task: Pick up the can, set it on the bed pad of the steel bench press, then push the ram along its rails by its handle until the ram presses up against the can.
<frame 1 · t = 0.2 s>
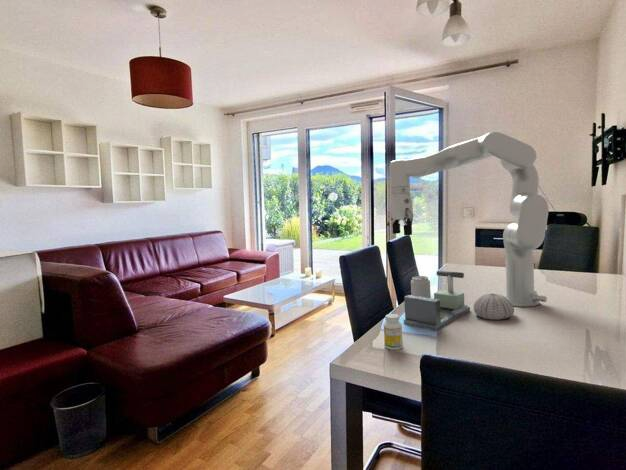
hand: (402, 234, 147), 30 cm above the table, tool pointing down, fingers open, 9 cm apart
sea urchin shell: (493, 316, 132), on the table
can: (421, 306, 149), on the table
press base: (438, 316, 134), on the table
supplement bottle: (393, 347, 111), on the table
ram: (448, 289, 140), point 9 cm above the table, slide at 0.0 cm
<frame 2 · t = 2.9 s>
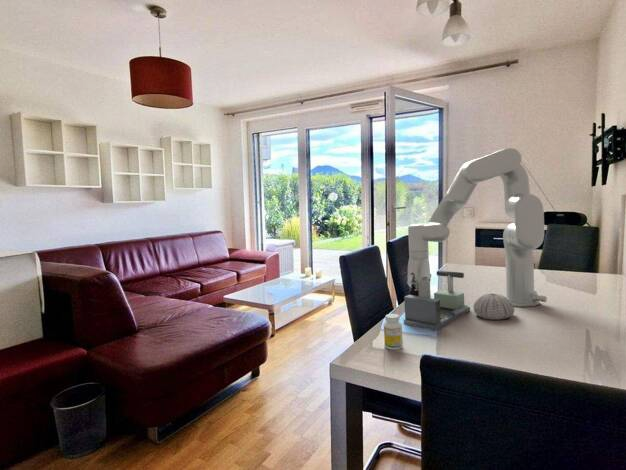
hand: (420, 297, 149), 4 cm above the table, tool pointing down, fingers closed on can, 7 cm apart
can: (421, 306, 149), on the table, touching gripper
everything else where it was.
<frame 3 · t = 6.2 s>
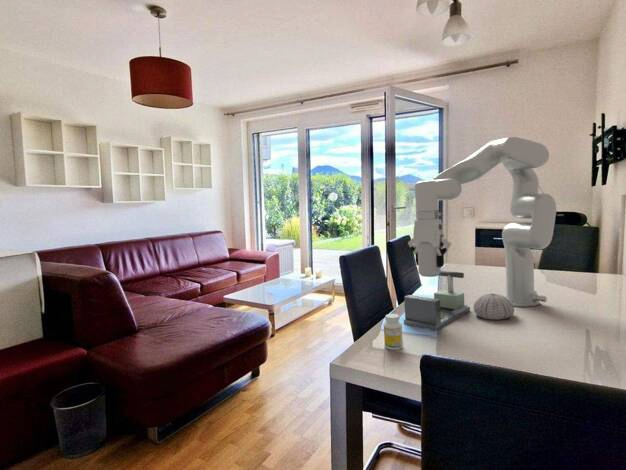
hand: (429, 265, 131), 20 cm above the table, tool pointing down, fingers closed on can, 7 cm apart
can: (429, 275, 131), point 16 cm above the table, touching gripper
everything else where it was.
when the fingers open (7 cm above the table, at t = 9.4 s): can drops 1 cm, resting on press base.
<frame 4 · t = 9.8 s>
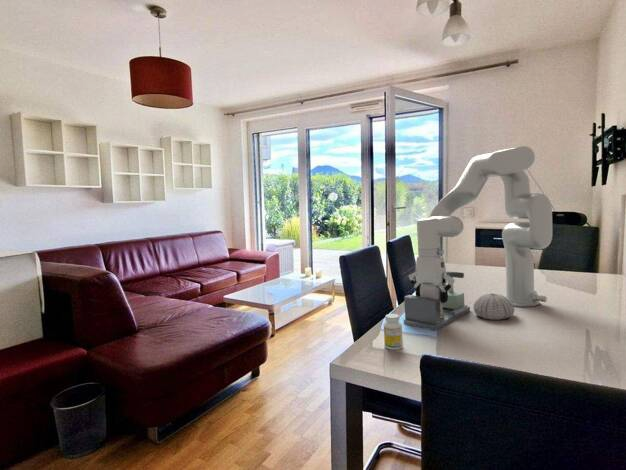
hand: (431, 300, 131), 7 cm above the table, tool pointing down, fingers open, 9 cm apart
can: (432, 315, 131), point 2 cm above the table, touching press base
everything else where it was.
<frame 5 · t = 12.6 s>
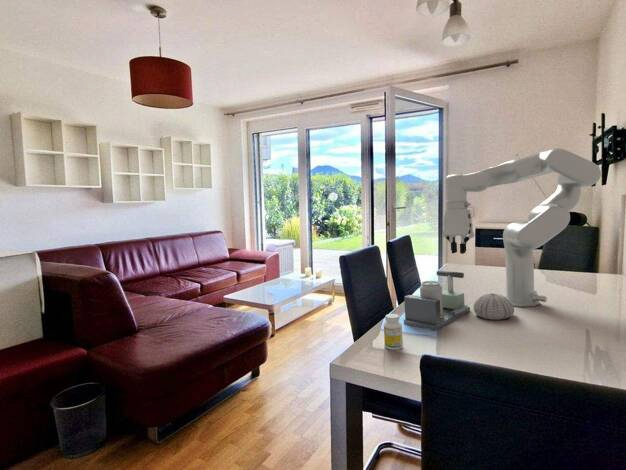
hand: (458, 252, 145), 21 cm above the table, tool pointing down, fingers closed
nothing on the table moved.
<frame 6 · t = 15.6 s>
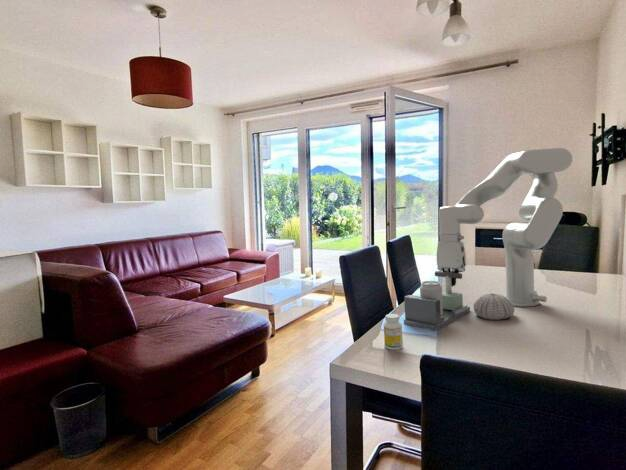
hand: (451, 285, 141), 9 cm above the table, tool pointing down, fingers closed
ram: (446, 289, 139), point 9 cm above the table, slide at 1.4 cm, touching gripper
everything else where it was.
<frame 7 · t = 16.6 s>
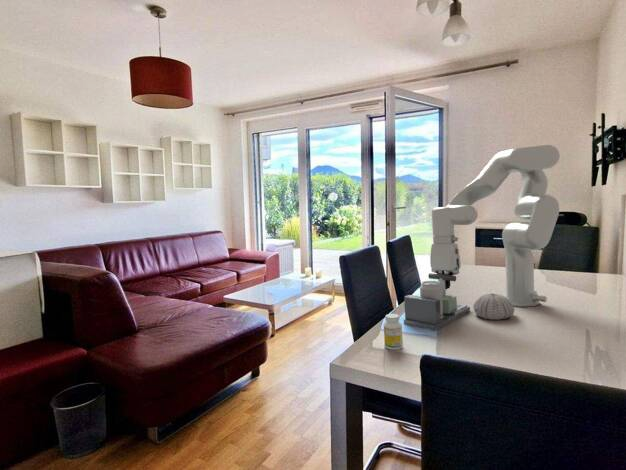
hand: (445, 288, 138), 9 cm above the table, tool pointing down, fingers closed
ram: (440, 292, 136), point 9 cm above the table, slide at 6.1 cm, touching gripper
everything else where it was.
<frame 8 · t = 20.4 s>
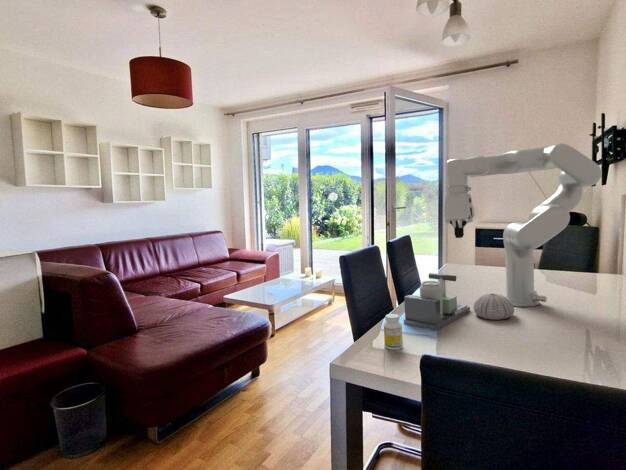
hand: (459, 237, 145), 27 cm above the table, tool pointing down, fingers closed
ram: (440, 292, 136), point 9 cm above the table, slide at 6.0 cm
everything else where it was.
at the end: can 0.2 cm from the target spot, point 1.6 cm above the table; can tilted 0°; ram slide at 6.0 cm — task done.
